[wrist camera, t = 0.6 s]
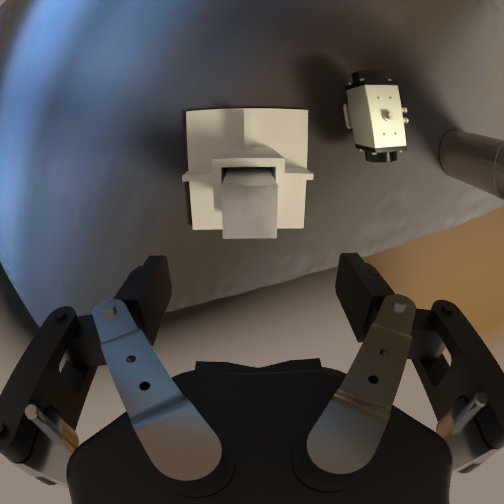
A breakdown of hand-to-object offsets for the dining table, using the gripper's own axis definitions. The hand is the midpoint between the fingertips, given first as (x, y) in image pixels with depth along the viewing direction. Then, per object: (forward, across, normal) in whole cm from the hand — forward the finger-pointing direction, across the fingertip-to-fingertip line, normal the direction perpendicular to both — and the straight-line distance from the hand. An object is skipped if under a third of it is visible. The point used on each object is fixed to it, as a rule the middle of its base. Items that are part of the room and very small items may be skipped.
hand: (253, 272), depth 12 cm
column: (+28, 0, 0) cm, 28 cm away
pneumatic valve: (+30, -16, -9) cm, 35 cm away
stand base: (+30, 0, 0) cm, 30 cm away
